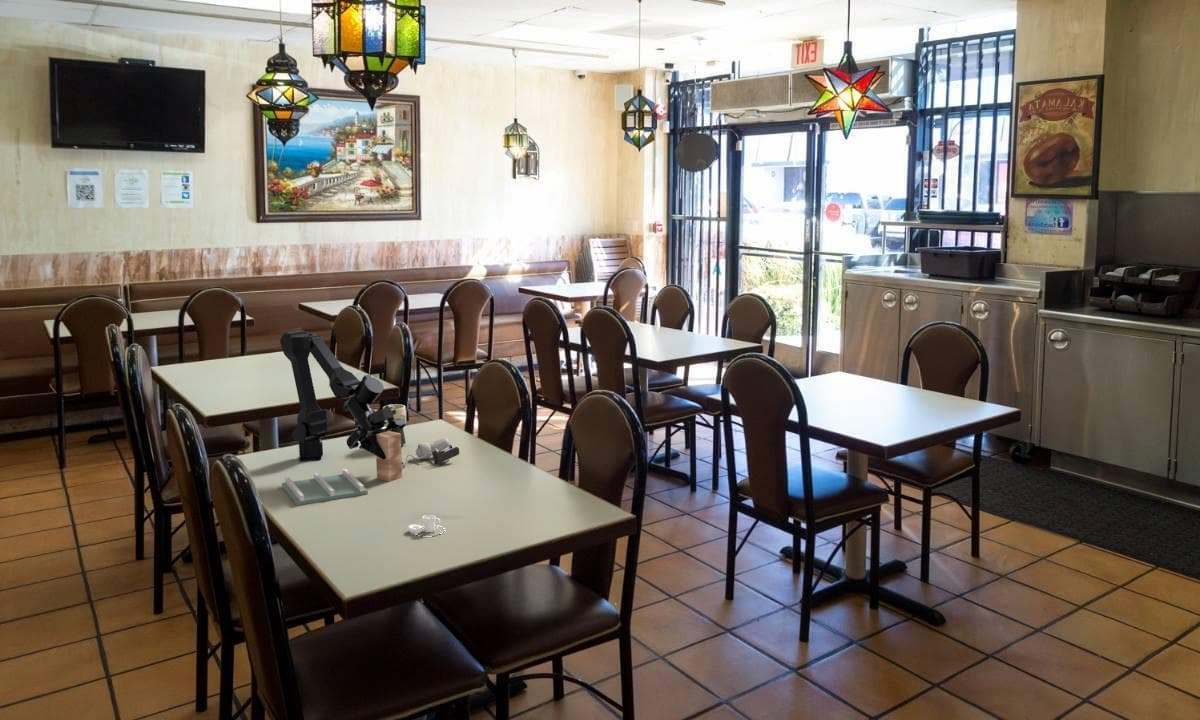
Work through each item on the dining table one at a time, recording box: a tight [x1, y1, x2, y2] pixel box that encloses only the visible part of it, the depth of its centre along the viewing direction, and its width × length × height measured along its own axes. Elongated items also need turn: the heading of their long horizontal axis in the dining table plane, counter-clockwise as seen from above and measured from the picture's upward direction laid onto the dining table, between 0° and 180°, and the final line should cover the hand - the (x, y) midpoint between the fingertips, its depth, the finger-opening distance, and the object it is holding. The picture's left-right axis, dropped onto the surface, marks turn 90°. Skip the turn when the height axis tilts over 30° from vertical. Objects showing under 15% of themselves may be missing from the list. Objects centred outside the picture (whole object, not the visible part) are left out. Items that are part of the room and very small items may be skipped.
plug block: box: [375, 431, 403, 482], centre depth 272 cm, size 5×5×13 cm
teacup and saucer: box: [407, 514, 446, 538], centre depth 231 cm, size 9×8×4 cm
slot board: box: [281, 468, 369, 506], centre depth 262 cm, size 18×19×2 cm
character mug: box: [382, 403, 407, 446], centre depth 305 cm, size 11×7×13 cm, turn 51°
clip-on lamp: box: [402, 437, 460, 467], centre depth 289 cm, size 12×6×18 cm
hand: (392, 456), depth 271 cm, fingers closed on plug block, 5 cm apart
